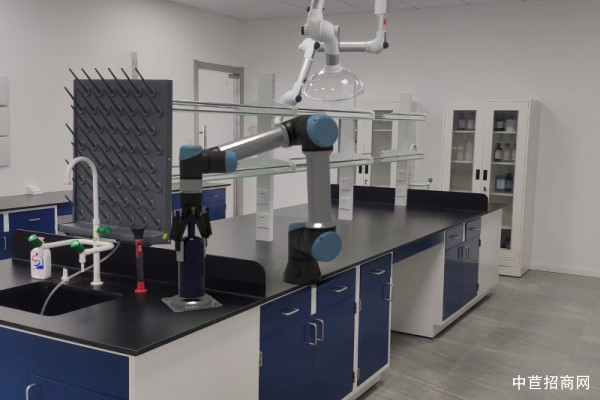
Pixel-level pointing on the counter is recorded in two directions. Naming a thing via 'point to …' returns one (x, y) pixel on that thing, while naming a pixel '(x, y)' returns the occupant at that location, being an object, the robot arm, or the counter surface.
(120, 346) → the counter surface
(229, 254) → the counter surface
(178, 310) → the flange plate
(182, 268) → the bottle
